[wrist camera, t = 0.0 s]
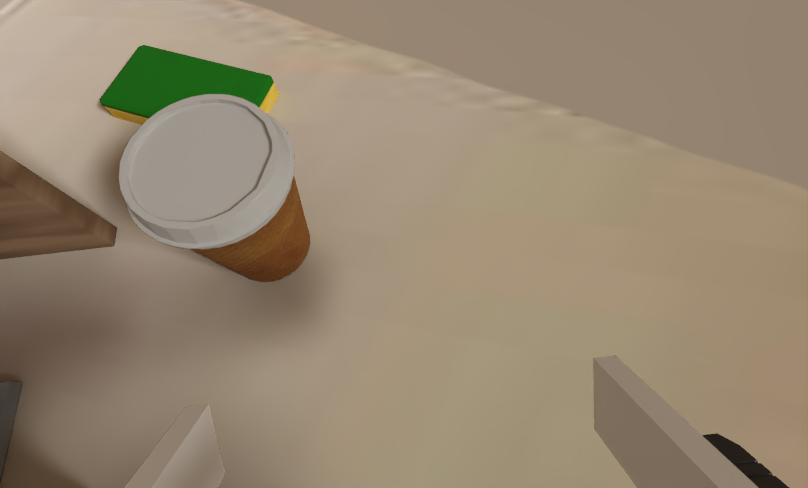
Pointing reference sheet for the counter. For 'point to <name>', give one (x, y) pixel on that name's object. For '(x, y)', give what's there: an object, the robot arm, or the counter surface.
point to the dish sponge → (179, 84)
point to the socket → (7, 415)
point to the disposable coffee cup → (218, 185)
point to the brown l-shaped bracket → (44, 216)
